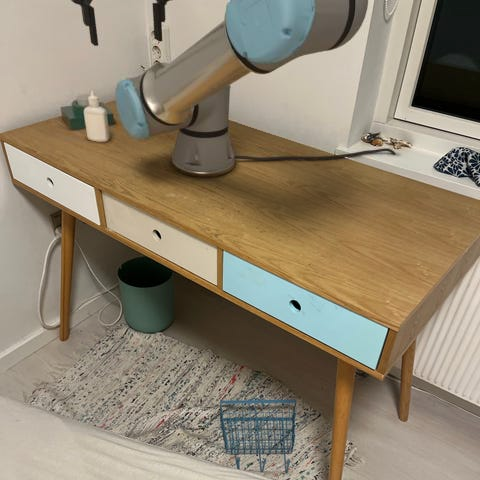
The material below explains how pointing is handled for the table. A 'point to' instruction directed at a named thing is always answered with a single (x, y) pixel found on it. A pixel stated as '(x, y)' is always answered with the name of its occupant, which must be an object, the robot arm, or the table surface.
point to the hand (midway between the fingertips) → (127, 42)
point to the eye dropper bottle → (96, 120)
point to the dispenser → (81, 115)
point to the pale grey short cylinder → (83, 99)
